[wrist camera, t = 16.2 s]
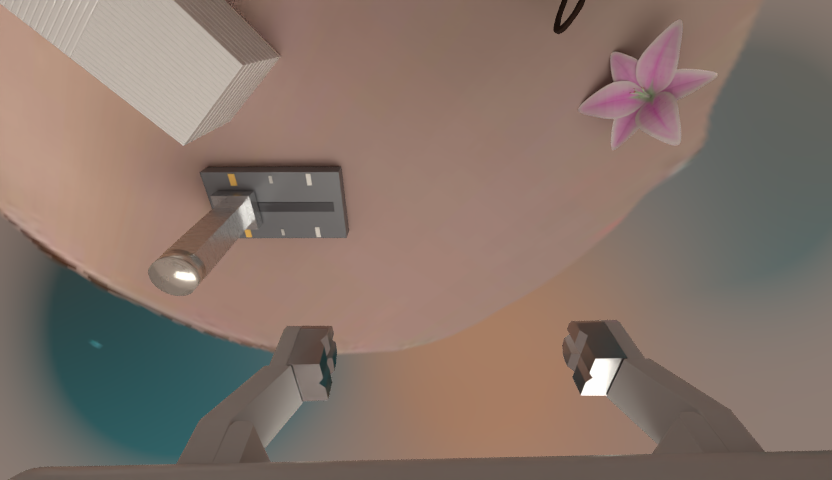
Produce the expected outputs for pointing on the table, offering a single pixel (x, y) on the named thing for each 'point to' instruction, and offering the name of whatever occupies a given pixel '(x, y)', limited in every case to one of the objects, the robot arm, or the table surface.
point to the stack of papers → (160, 55)
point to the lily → (647, 90)
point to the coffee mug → (566, 24)
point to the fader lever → (205, 242)
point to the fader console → (288, 199)
